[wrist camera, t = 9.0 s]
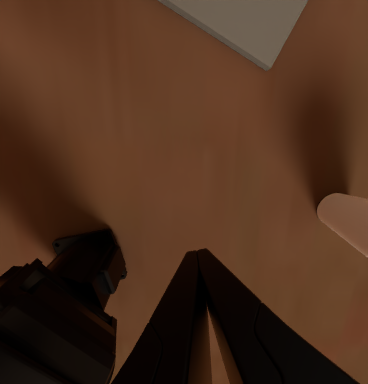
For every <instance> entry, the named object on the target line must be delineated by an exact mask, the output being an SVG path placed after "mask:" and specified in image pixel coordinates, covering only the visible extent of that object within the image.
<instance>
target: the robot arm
mask: <svg viewBox="0 0 368 384" xmlns="http://www.w3.org/2000/svg"><path fill="white" fill-rule="evenodd" d="M106 233H109V235H107V234H106ZM57 243H59V244H60V245H58V244H57ZM52 245H53V248H54V250H55V252H56V254H57V256H56V257H55V259H54V260H53V261H52V262H51V263H50V264H49V265H48V266H47V267H45V266H44V265H43V264H42V263H43V262H42V261H40V260H39V259H38V258H37V259H36V260H34V261H33V262H32V263H31V264H30V265H29V264H28V263H27V264H26V265H24V266H23V267H22V266H13V267H11V268H10V269H9V270H8V271H6V272H5V273H4V274H3V275H2V276H0V384H109V383H110V380H111V378H112V375H113V371H114V366H115V358H116V355H115V353H116V329H117V319H115V318H114V317H113V316H109V315H108V314H107V313H105V312H104V309H105V307H106V304H107V302H108V299H109V297H110V294H114V292H115V291H116V289H117V286H118V283H119V281H120V280H121V279H125V278H126V276H127V271H126V268H125V265H126V263H125V261H124V258H123V255H122V252H121V249H120V247H119V246H118V245H117V243H116V240H115V237H114V235H113V232H112V230H110V229H103V230H99V231H94V232H89V233H84V234H79V235H74V236H69V237H64V238H60V239H56V240H55V241H54V242H53V243H52ZM122 274H124V275H122ZM207 307H208V310H207ZM208 311H209V315H210V318H211V321H212V325H213V328H214V332H215V335H216V338H217V342H218V345H219V348H220V352H221V355H222V359H223V362H224V365H225V369H226V372H227V375H228V379H229V382H230V384H360V383H358V382H357V381H356V380H355V379H353V378H352V377H351V376H350V375H348V374H347V373H346V372H345V371H343V370H342V369H341V368H340V367H338V366H337V365H336V364H335V363H333V362H332V361H331V360H329V359H328V358H327V357H326V356H324V355H323V354H322V353H321V352H319V351H318V350H317V349H316V348H314V347H313V346H312V345H311V344H309V343H308V342H307V341H306V340H304V339H303V338H302V337H301V336H300V335H298V334H297V333H296V332H295V331H294V330H292V329H291V328H290V327H289V326H288V325H287V324H285V323H284V322H283V321H282V320H281V319H280V318H279V317H278V316H277V315H276V314H274V313H273V312H272V311H271V310H270V309H269V308H268V307H267V306H266V305H265V304H264V303H262V302H261V300H260V299H259V298H258V297H257V296H256V295H255V294H254V293H252V292H251V291H250V290H249V289H248V288H247V287H246V286H245V285H244V284H243V283H242V282H241V281H240V280H239V279H238V278H237V277H236V276H235V275H234V274H233V273H232V272H231V271H230V270H229V269H228V268H227V267H225V266H224V265H223V264H222V263H221V262H220V261H219V260H218V259H217V258H216V257H215V256H214V255H213V254H212V253H211V252H210V251H209V250H208V249H206V248H205V249H199V250H197V251H196V250H194V251H189V252H187V253H186V254H185V256H184V258H183V260H182V262H181V264H180V265H179V267H178V269H177V271H176V273H175V275H174V276H173V278H172V280H171V282H170V284H169V285H168V287H167V289H166V291H165V293H164V295H163V296H162V298H161V300H160V302H159V304H158V306H157V307H156V309H155V311H154V313H153V315H152V317H151V318H150V320H149V322H150V323H148V324H147V325H146V327H145V329H144V331H143V333H142V335H141V336H140V338H139V340H138V341H137V343H136V345H135V347H134V348H133V350H132V352H131V353H130V355H129V357H128V358H127V360H126V361H125V363H124V364H123V366H122V367H121V369H120V371H119V372H118V374H117V375H116V377H115V378H114V380H113V381H112V383H111V384H212V375H211V358H210V341H209V324H208Z"/></svg>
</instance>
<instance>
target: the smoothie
mask: <svg viewBox="0 0 368 384" xmlns="http://www.w3.org/2000/svg"><path fill="white" fill-rule="evenodd" d="M317 216H318V218H319V219H320V220H321V221H322V222H323V223H324V224H326V225H327V226H328V227H330V228H331V229H332V230H333V231H335V232H336V233H337V234H338V235H340V236H341V237H342V238H343V239H345V240H346V241H347V242H348V243H350V244H351V245H352V246H354V247H355V248H356V249H357V250H359V251H360V252H361V253H362V254H364V255H365V256H366V257H367V258H368V199H365V198H360V197H356V196H351V195H346V194H341V193H333V194H330V195H328V196H326V197H325V198H324V199H323V200H322V201H321V202H320V203H319V205H318V208H317Z"/></svg>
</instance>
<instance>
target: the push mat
mask: <svg viewBox="0 0 368 384" xmlns="http://www.w3.org/2000/svg"><path fill="white" fill-rule="evenodd" d="M158 1H159V2H161V3H163V4H164V5H166V6H167V7H169V8H170V9H172V10H173V11H175V12H176V13H178V14H179V15H181V16H183V17H184V18H186V19H187V20H189V21H190V22H192V23H193V24H195V25H196V26H198V27H199V28H201V29H203V30H204V31H206V32H207V33H209V34H210V35H212V36H213V37H215V38H216V39H218V40H220V41H221V42H223V43H224V44H226V45H227V46H229V47H230V48H232V49H233V50H235V51H236V52H238V53H240V54H241V55H243V56H244V57H246V58H247V59H249V60H250V61H252V62H253V63H255V64H256V65H258V66H260V67H261V68H263V69H264V70H266V71H267V70H269V69H270V68H271V67H272V65H273V63H274V61H275V60H276V58H277V56H278V54H279V52H280V50H281V49H282V47H283V45H284V43H285V41H286V39H287V38H288V36H289V34H290V32H291V30H292V29H293V27H294V25H295V23H296V21H297V19H298V18H299V16H300V14H301V12H302V10H303V8H304V7H305V5H306V3H307V1H308V0H158Z"/></svg>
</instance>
